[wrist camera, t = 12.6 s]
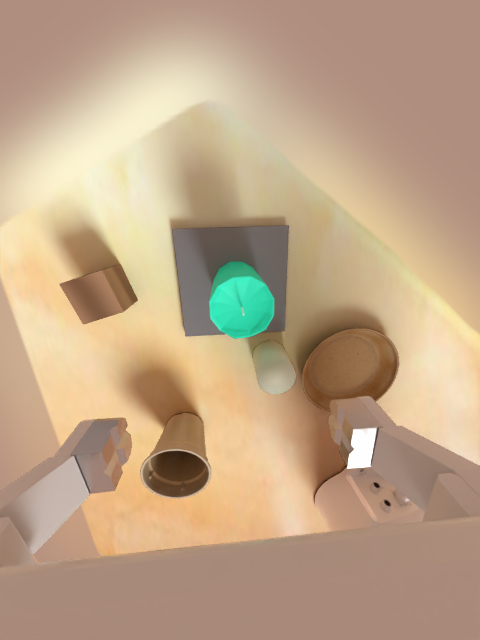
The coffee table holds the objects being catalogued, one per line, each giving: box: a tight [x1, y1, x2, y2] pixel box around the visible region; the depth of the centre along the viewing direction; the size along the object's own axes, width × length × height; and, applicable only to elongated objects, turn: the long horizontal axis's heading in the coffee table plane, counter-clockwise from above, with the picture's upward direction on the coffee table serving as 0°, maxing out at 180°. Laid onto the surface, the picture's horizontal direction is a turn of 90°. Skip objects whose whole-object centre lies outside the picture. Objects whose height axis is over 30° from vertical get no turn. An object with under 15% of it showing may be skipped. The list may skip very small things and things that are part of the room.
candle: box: [209, 261, 274, 339], centre depth 25 cm, size 6×6×12 cm
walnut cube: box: [60, 264, 138, 324], centre depth 29 cm, size 5×5×5 cm
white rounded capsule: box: [253, 341, 296, 394], centre depth 33 cm, size 5×5×6 cm
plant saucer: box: [302, 328, 399, 412], centre depth 37 cm, size 15×15×3 cm
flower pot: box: [140, 413, 211, 499], centre depth 36 cm, size 9×9×9 cm
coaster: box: [172, 226, 289, 336], centre depth 31 cm, size 14×14×1 cm
